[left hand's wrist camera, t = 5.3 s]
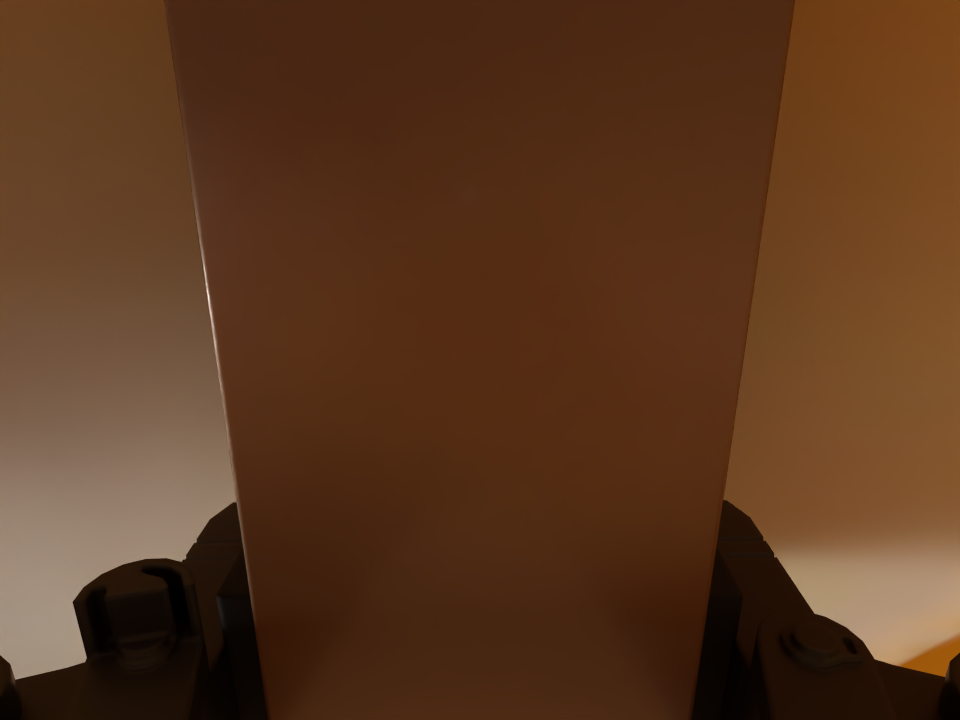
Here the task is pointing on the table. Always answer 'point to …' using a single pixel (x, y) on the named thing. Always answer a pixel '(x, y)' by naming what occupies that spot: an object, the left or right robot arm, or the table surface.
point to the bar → (479, 336)
